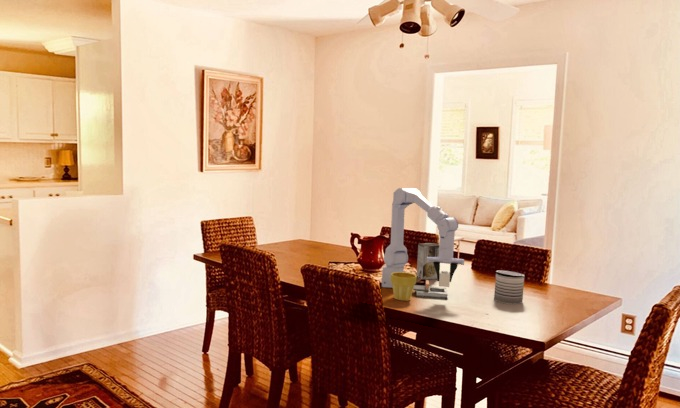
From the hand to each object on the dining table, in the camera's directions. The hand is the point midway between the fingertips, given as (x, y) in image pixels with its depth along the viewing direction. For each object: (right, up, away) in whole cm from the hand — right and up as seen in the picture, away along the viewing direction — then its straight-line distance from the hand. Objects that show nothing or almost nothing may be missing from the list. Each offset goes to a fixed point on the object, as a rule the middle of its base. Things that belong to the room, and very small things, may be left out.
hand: (444, 281), depth 224 cm
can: (+28, -9, +7) cm, 30 cm away
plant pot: (-16, -8, +3) cm, 18 cm away
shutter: (-8, -5, +12) cm, 15 cm away
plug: (0, -2, 0) cm, 2 cm away
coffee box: (0, -4, +41) cm, 42 cm away
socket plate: (-3, -7, +11) cm, 14 cm away
